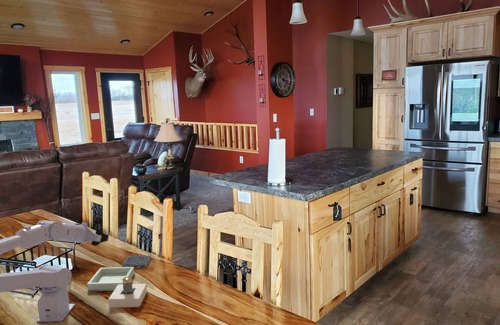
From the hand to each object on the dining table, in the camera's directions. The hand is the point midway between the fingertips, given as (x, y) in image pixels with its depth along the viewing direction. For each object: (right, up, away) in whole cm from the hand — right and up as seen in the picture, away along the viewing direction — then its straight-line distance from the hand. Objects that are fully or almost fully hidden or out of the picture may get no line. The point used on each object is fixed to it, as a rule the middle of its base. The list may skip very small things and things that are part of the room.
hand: (99, 235), depth 142 cm
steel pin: (+14, -20, -9) cm, 26 cm away
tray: (+3, -18, +4) cm, 19 cm away
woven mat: (+8, -16, +19) cm, 26 cm away
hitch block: (+14, -20, -9) cm, 26 cm away
